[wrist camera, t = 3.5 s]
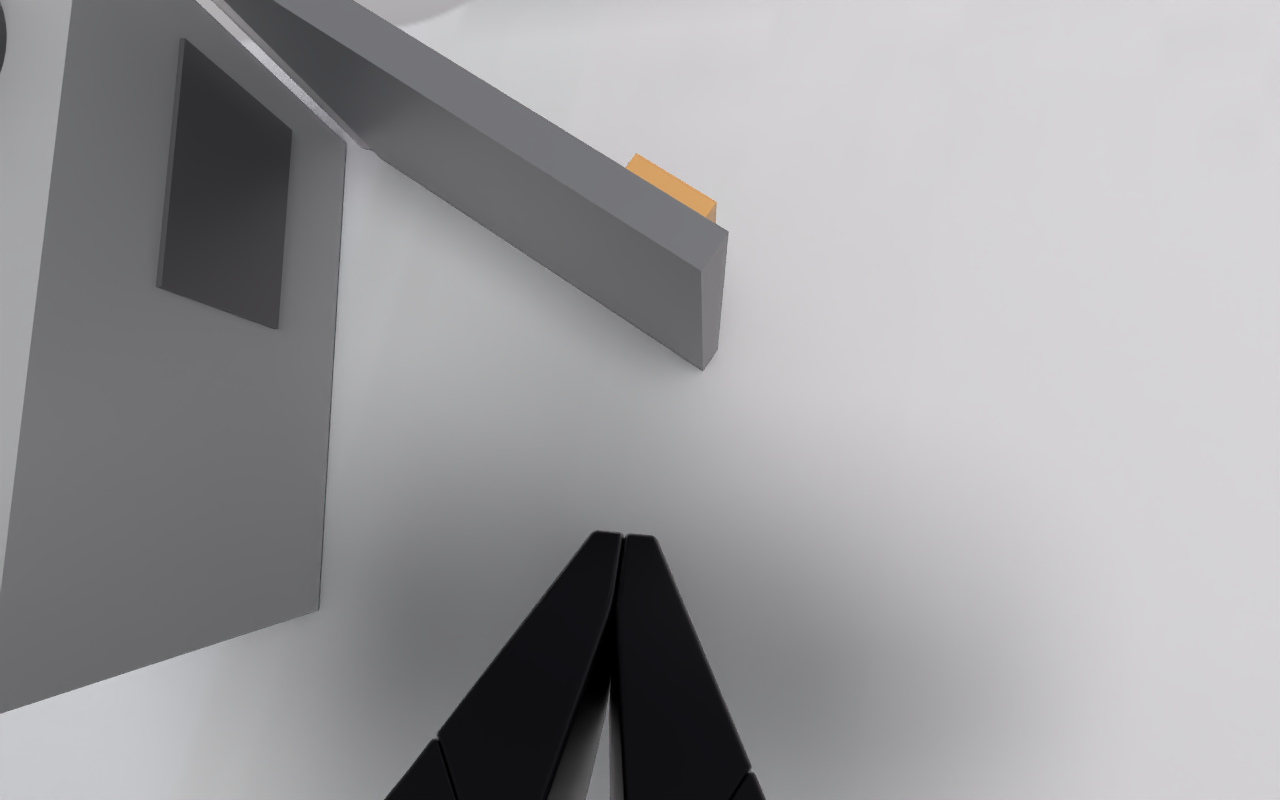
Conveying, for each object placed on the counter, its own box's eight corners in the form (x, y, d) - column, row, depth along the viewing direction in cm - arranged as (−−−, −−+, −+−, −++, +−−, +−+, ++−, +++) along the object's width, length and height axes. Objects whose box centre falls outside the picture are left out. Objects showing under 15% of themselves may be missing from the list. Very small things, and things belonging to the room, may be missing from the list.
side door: (352, 140, 22) (94, -110, 13) (386, 92, 22) (156, -190, 13) (702, 372, 20) (699, 273, 11) (739, 318, 20) (769, 173, 11)
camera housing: (322, 610, 20) (-95, 747, 10) (113, 606, 21) (-490, 730, 10) (349, 143, 22) (29, -166, 12) (157, 154, 23) (-309, -128, 12)
